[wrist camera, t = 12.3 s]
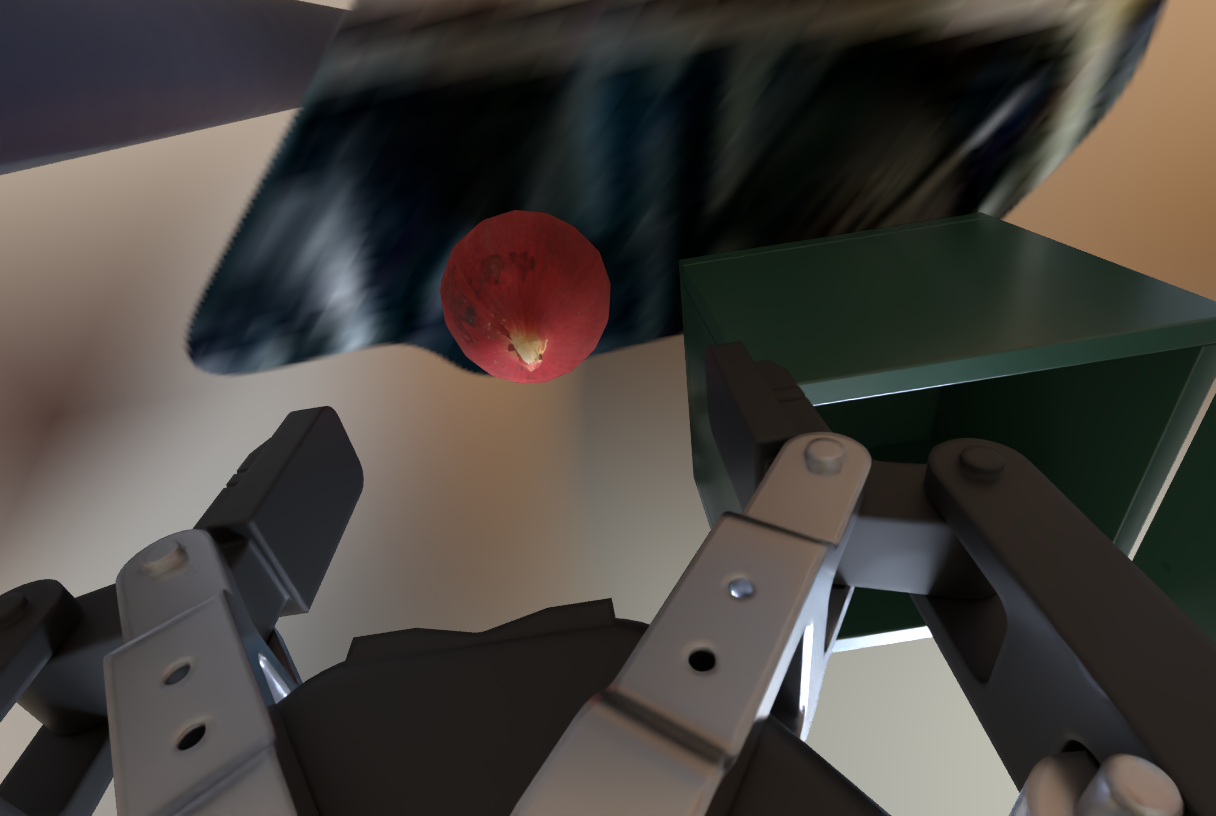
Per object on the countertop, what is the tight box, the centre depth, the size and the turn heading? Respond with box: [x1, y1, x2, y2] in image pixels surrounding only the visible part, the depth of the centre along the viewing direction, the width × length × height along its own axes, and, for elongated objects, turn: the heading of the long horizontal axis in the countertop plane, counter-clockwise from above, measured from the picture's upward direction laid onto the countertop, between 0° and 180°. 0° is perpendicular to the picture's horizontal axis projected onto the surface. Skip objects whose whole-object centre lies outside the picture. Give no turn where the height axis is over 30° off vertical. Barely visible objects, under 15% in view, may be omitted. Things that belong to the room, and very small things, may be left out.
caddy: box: [679, 212, 1216, 653], centre depth 22 cm, size 13×12×11 cm
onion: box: [440, 210, 611, 383], centre depth 20 cm, size 6×6×8 cm
